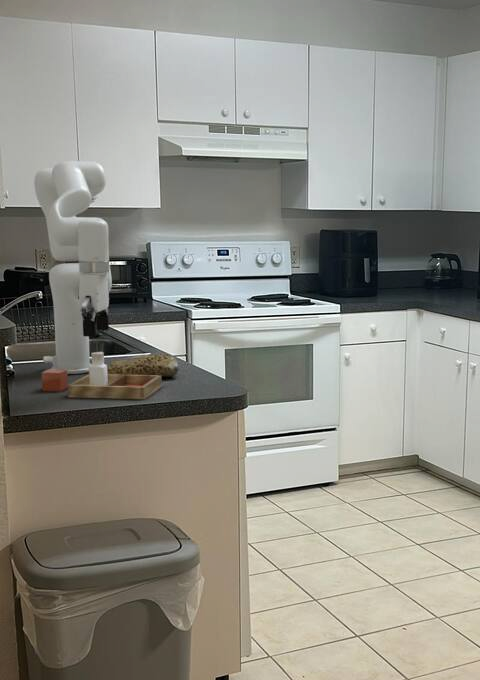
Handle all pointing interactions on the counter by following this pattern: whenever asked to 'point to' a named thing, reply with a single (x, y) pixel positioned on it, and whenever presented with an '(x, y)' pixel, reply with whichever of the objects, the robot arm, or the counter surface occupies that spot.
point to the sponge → (146, 366)
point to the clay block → (54, 380)
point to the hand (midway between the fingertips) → (96, 333)
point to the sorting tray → (117, 387)
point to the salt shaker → (98, 370)
